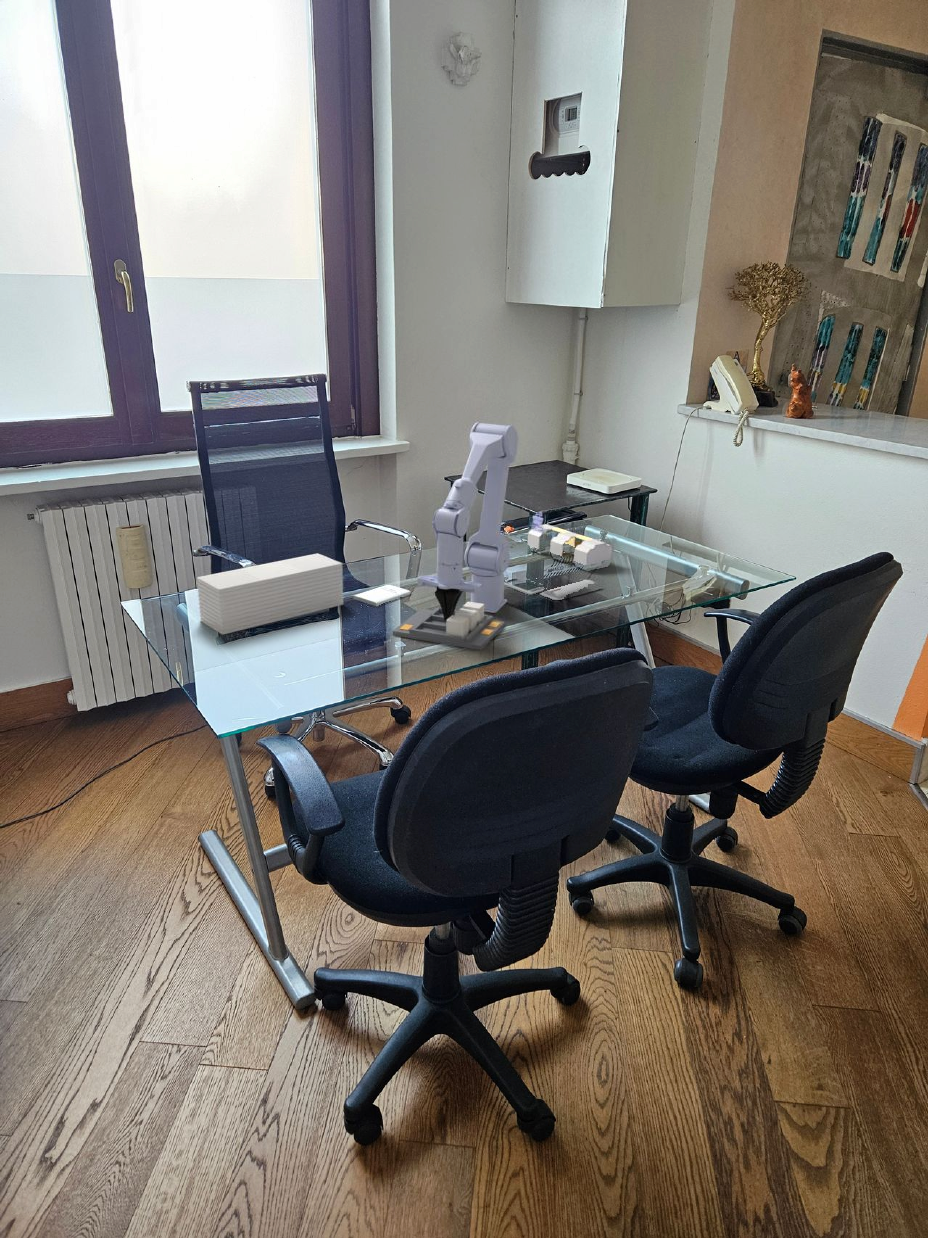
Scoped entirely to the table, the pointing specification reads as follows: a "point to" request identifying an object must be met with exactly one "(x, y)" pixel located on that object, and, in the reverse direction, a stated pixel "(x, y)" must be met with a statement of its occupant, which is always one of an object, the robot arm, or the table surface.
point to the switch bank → (434, 630)
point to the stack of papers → (269, 592)
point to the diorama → (570, 543)
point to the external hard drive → (381, 595)
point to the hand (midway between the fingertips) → (448, 619)
